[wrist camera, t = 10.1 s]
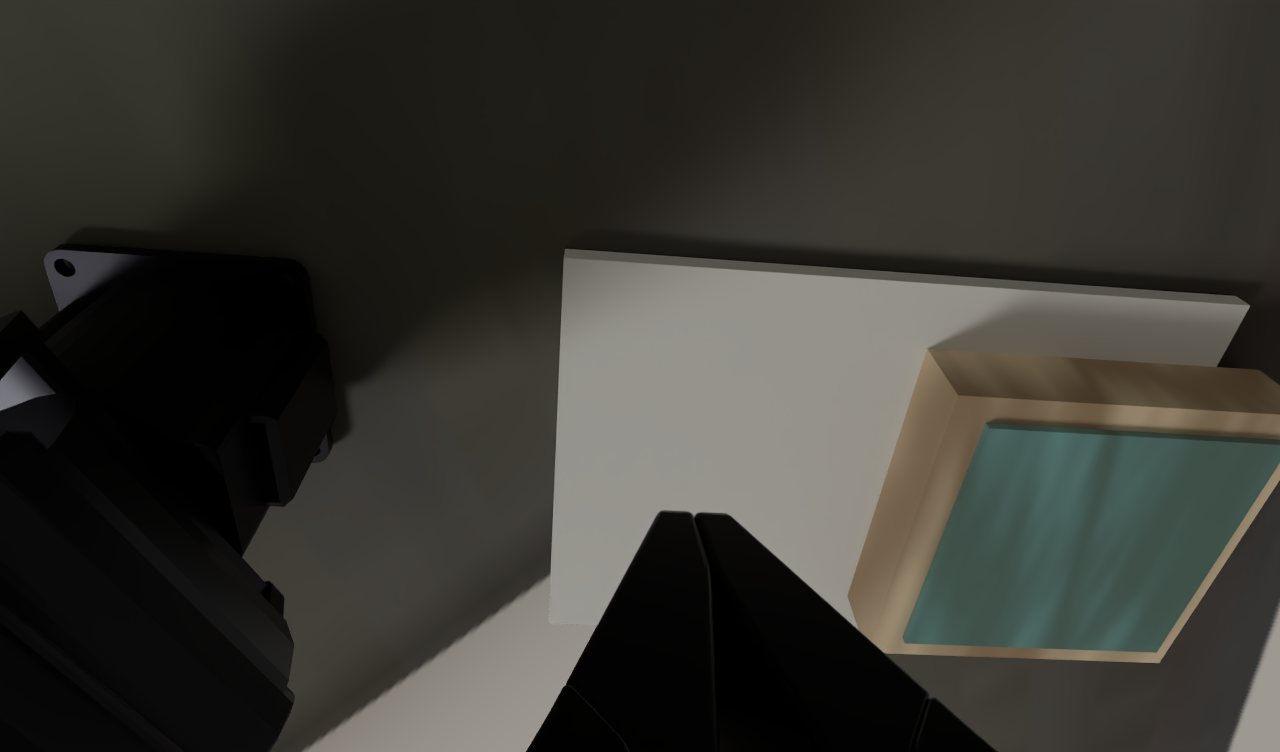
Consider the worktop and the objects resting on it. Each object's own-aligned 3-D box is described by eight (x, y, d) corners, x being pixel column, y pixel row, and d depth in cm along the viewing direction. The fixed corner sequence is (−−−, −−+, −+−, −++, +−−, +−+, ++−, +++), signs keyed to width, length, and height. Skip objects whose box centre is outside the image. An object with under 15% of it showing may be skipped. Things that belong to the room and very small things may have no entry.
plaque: (867, 658, 26) (1163, 669, 26) (961, 401, 20) (1328, 422, 21) (847, 595, 28) (1120, 606, 29) (927, 348, 23) (1259, 369, 23)
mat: (549, 610, 29) (548, 623, 28) (564, 248, 21) (563, 257, 21) (1056, 629, 30) (1063, 642, 30) (1236, 296, 23) (1250, 305, 22)
